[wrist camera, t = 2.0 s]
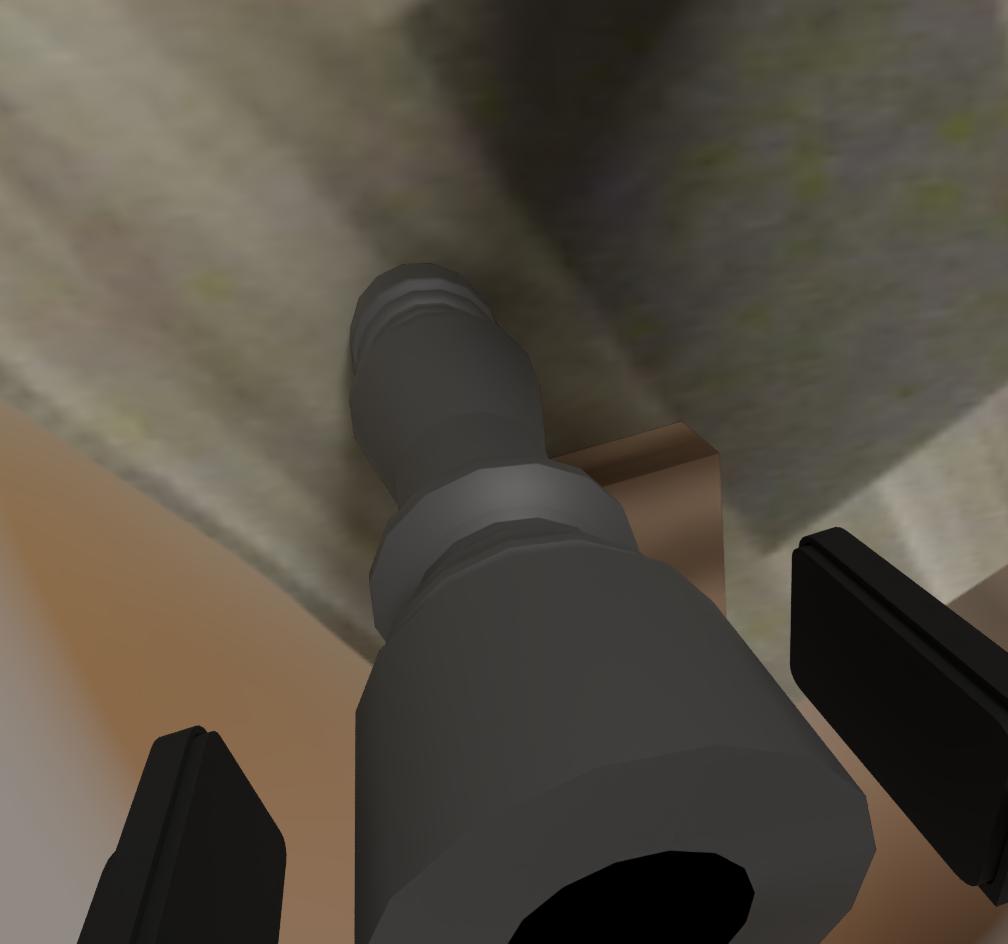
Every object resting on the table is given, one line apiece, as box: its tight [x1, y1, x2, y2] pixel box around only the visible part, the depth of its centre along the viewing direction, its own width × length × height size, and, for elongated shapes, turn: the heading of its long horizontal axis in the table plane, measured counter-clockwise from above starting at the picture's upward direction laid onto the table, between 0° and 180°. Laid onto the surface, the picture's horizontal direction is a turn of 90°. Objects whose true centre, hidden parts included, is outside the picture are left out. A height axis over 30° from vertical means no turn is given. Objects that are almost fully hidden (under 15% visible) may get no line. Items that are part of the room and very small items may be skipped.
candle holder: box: [349, 263, 876, 944], centre depth 18 cm, size 6×6×25 cm
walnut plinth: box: [550, 422, 726, 617], centre depth 34 cm, size 12×12×4 cm
